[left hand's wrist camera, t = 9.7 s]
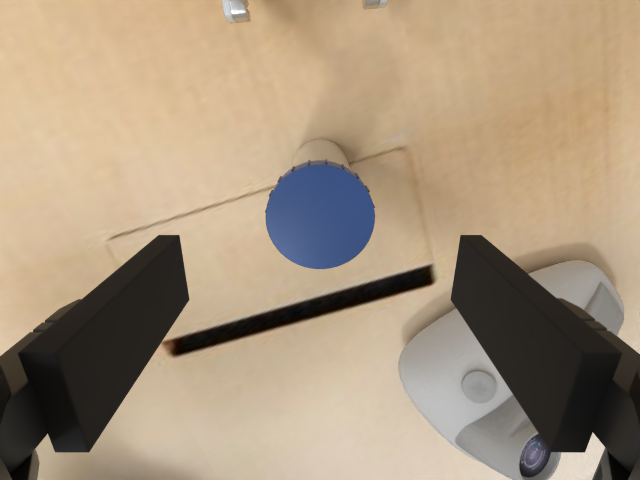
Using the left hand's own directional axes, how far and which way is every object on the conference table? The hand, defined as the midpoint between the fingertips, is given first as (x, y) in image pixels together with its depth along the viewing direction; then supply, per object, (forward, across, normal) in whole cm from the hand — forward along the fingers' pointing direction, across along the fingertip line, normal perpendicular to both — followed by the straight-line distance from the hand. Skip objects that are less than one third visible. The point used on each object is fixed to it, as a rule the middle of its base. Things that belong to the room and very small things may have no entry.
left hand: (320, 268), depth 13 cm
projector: (+22, +21, -19) cm, 36 cm away
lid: (+6, 0, 0) cm, 6 cm away
